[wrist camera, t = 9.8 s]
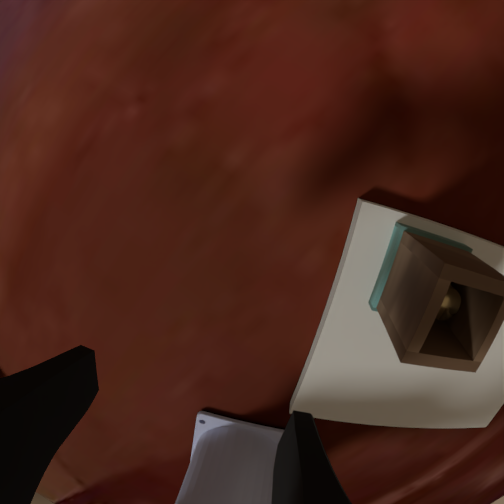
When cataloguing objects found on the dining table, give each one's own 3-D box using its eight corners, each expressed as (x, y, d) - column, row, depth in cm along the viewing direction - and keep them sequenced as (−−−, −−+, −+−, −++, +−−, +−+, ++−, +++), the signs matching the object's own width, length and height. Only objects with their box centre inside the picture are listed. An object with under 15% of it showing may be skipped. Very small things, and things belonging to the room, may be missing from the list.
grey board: (481, 418, 20) (485, 427, 19) (289, 402, 21) (289, 413, 20) (560, 270, 15) (569, 276, 14) (358, 198, 17) (362, 201, 15)
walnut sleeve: (435, 317, 17) (476, 376, 11) (368, 302, 17) (394, 366, 11) (464, 244, 15) (522, 283, 10) (395, 221, 15) (442, 256, 10)
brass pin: (425, 289, 16) (452, 322, 13) (402, 283, 16) (426, 317, 13) (434, 264, 16) (465, 292, 12) (412, 257, 16) (439, 285, 12)
